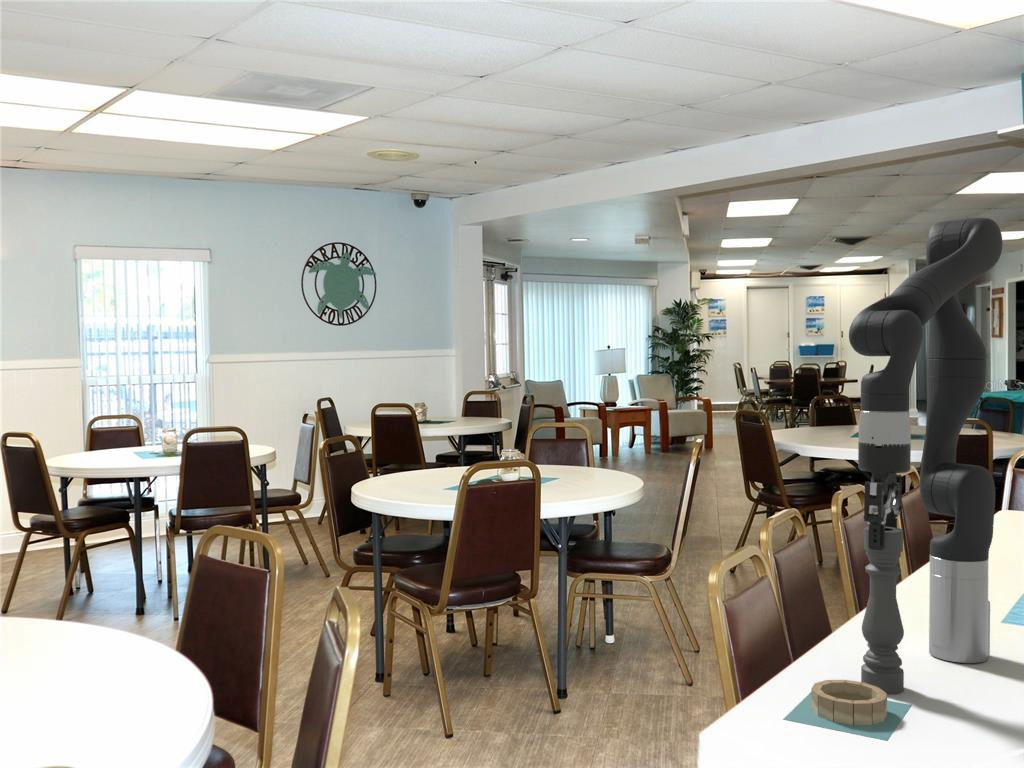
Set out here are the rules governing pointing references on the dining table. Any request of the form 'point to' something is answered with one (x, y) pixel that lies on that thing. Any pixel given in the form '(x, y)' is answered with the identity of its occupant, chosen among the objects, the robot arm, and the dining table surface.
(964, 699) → the dining table surface
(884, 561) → the candle holder
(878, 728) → the runner mat
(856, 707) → the segmented wooden ring
